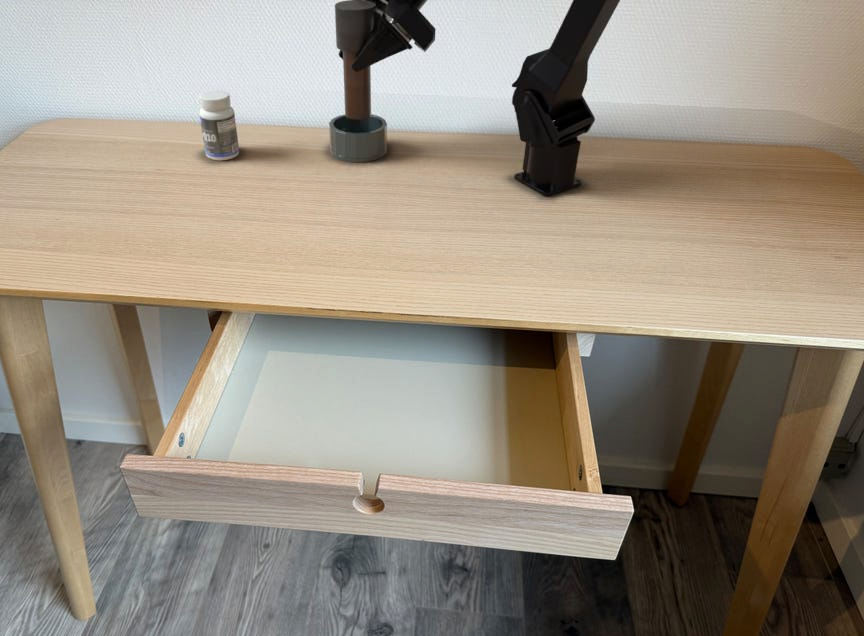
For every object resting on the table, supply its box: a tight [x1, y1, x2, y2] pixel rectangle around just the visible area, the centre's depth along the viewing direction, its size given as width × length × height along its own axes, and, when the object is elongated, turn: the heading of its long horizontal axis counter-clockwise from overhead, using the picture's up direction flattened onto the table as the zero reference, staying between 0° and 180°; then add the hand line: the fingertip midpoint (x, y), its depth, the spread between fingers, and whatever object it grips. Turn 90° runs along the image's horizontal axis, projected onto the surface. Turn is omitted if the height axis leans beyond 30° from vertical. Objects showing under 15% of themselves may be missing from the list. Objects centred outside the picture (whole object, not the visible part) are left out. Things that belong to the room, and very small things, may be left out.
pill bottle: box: [198, 89, 240, 161], centre depth 98 cm, size 5×5×8 cm
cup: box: [328, 113, 388, 163], centre depth 101 cm, size 8×8×4 cm
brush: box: [334, 0, 376, 120], centre depth 94 cm, size 5×5×14 cm
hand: (346, 63), depth 94 cm, fingers closed on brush, 5 cm apart
